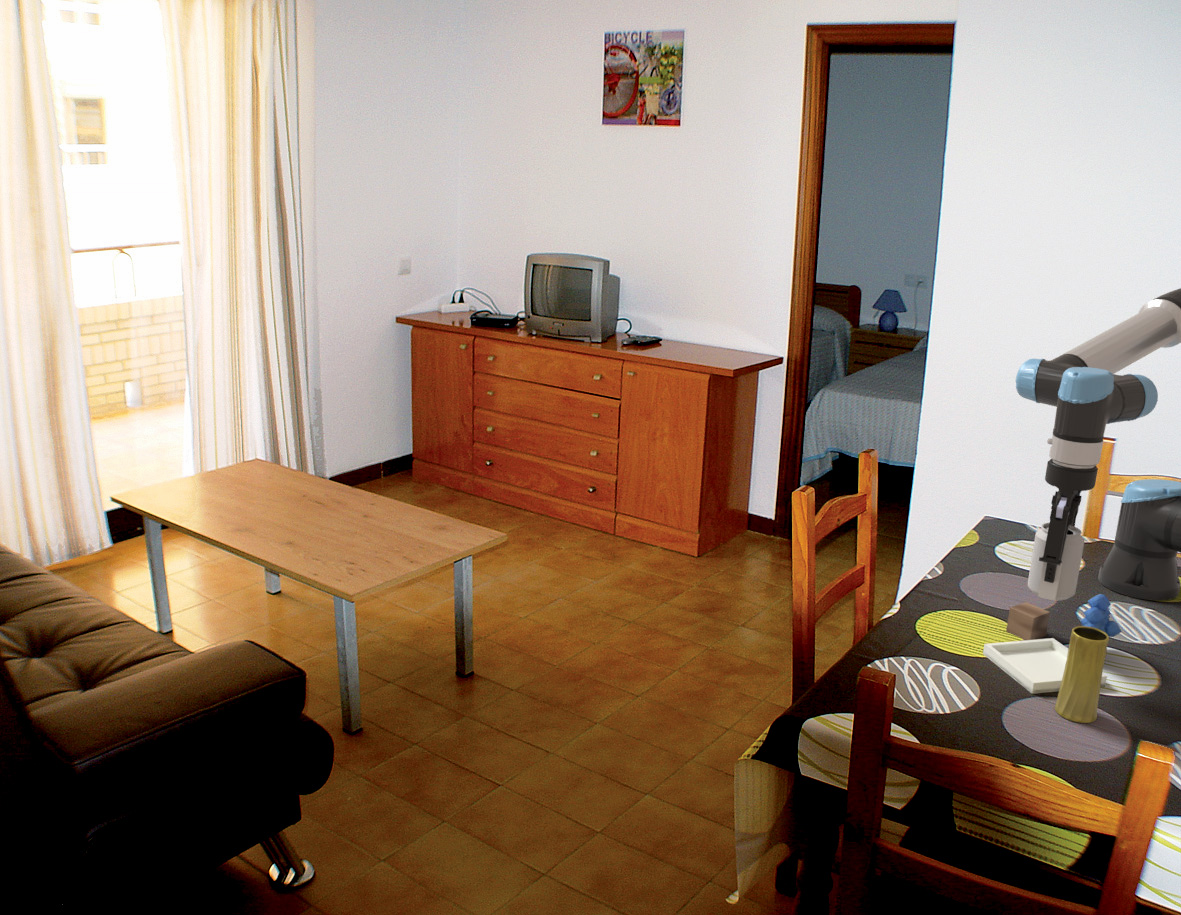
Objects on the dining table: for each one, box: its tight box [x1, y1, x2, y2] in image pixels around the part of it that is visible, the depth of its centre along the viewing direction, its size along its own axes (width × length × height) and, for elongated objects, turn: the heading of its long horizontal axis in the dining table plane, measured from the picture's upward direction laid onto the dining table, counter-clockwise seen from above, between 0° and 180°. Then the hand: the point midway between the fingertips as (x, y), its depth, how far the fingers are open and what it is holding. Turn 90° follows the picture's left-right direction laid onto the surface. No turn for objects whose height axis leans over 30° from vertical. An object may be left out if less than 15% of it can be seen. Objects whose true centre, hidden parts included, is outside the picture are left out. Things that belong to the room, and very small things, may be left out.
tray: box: [982, 637, 1108, 695], centre depth 170 cm, size 14×14×2 cm
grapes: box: [1079, 593, 1123, 638], centre depth 174 cm, size 12×7×12 cm, turn 143°
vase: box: [1054, 625, 1110, 724], centre depth 155 cm, size 6×6×14 cm
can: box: [1027, 522, 1085, 601], centre depth 165 cm, size 8×8×12 cm
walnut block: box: [1005, 601, 1051, 641], centre depth 183 cm, size 5×5×5 cm
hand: (1051, 589), depth 167 cm, fingers closed on can, 7 cm apart
